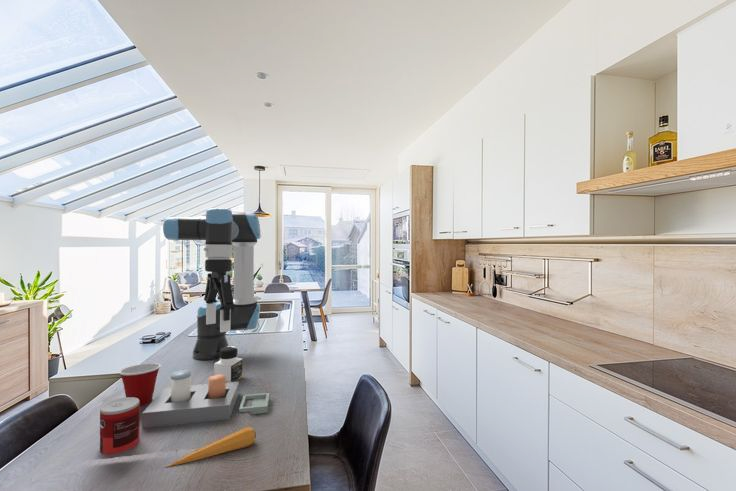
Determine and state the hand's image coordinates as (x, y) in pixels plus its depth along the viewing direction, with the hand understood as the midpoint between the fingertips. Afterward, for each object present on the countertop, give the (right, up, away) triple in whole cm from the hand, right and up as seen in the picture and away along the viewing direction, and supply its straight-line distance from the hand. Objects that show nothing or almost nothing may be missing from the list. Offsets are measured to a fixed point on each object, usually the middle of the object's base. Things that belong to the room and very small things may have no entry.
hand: (217, 327), depth 101 cm
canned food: (-15, -25, -20) cm, 35 cm away
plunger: (+1, -21, -2) cm, 21 cm away
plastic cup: (-25, -25, +1) cm, 35 cm away
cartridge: (-9, -24, -4) cm, 26 cm away
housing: (-5, -25, -3) cm, 25 cm away
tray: (+11, -25, +1) cm, 27 cm away
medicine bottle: (-5, -25, +21) cm, 33 cm away
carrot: (+9, -26, -22) cm, 35 cm away
